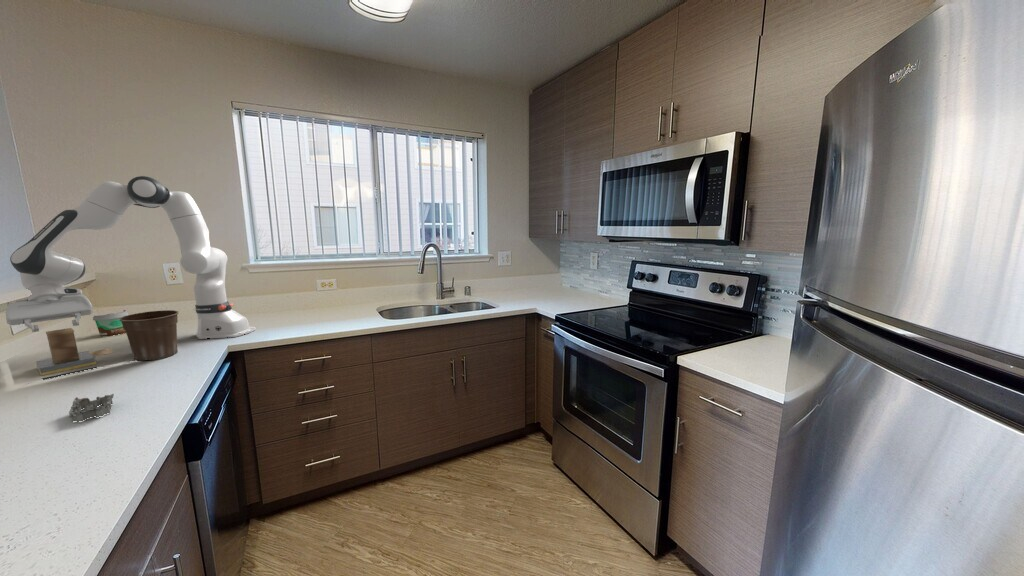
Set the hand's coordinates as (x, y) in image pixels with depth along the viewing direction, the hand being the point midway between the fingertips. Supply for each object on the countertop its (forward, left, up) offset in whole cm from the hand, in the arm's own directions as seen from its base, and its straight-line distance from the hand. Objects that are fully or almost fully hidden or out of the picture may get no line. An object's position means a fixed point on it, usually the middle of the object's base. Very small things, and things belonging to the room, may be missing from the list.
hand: (56, 327), depth 136 cm
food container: (+19, -37, -13) cm, 43 cm away
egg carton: (-53, +37, -14) cm, 66 cm away
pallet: (-6, -6, -13) cm, 16 cm away
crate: (-10, +7, -9) cm, 16 cm away
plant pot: (-28, -7, -13) cm, 32 cm away
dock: (-10, +7, -13) cm, 18 cm away
